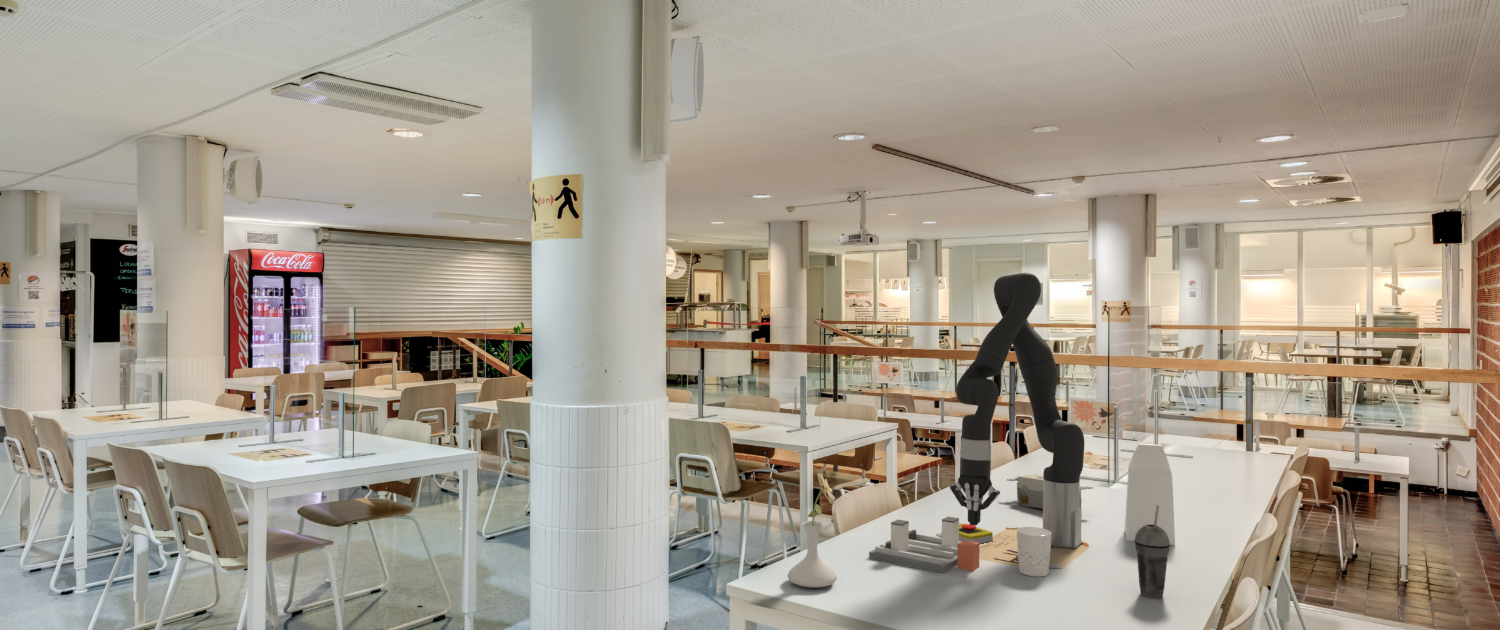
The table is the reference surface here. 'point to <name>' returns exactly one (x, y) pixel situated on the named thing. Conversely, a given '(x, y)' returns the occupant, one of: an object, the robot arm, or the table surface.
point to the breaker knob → (900, 535)
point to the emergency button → (973, 534)
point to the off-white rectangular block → (950, 532)
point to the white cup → (1033, 551)
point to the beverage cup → (1152, 558)
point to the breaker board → (919, 553)
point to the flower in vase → (814, 550)
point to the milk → (1149, 491)
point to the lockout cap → (968, 555)
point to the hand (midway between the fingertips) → (973, 524)
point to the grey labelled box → (1034, 490)
